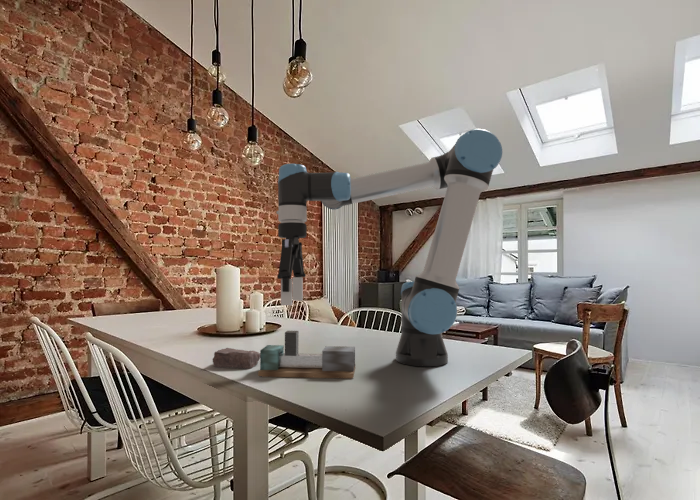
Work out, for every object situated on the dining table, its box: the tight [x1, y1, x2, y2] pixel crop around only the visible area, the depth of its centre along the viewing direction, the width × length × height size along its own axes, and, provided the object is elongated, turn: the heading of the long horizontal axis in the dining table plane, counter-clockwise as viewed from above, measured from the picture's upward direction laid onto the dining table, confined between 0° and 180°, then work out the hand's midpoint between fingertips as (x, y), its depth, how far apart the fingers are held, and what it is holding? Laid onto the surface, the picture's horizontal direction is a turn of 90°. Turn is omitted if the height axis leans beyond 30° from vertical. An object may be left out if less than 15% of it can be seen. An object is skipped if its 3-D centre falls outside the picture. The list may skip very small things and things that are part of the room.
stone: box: [212, 347, 260, 370], centre depth 111 cm, size 9×12×5 cm
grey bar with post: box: [279, 330, 322, 368], centre depth 103 cm, size 16×3×9 cm, turn 86°
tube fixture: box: [257, 344, 356, 379], centre depth 103 cm, size 24×10×6 cm, turn 86°
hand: (292, 302), depth 104 cm, fingers open, 13 cm apart
